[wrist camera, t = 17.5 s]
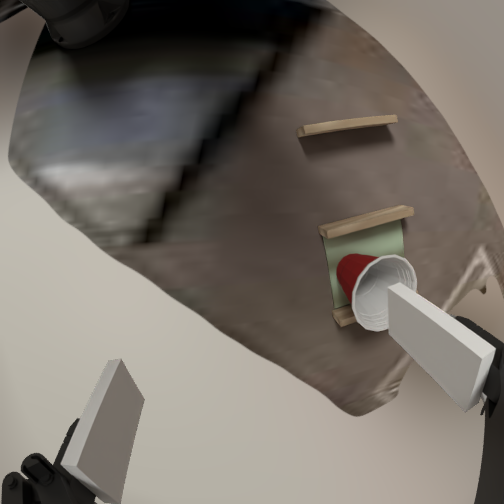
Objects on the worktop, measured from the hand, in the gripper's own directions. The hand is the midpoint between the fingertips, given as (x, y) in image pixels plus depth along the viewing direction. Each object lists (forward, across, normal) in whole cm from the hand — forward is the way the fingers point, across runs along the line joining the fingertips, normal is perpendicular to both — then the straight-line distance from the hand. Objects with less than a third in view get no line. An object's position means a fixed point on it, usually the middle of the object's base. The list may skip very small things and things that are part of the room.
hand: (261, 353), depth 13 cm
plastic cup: (+31, +18, -11) cm, 38 cm away
